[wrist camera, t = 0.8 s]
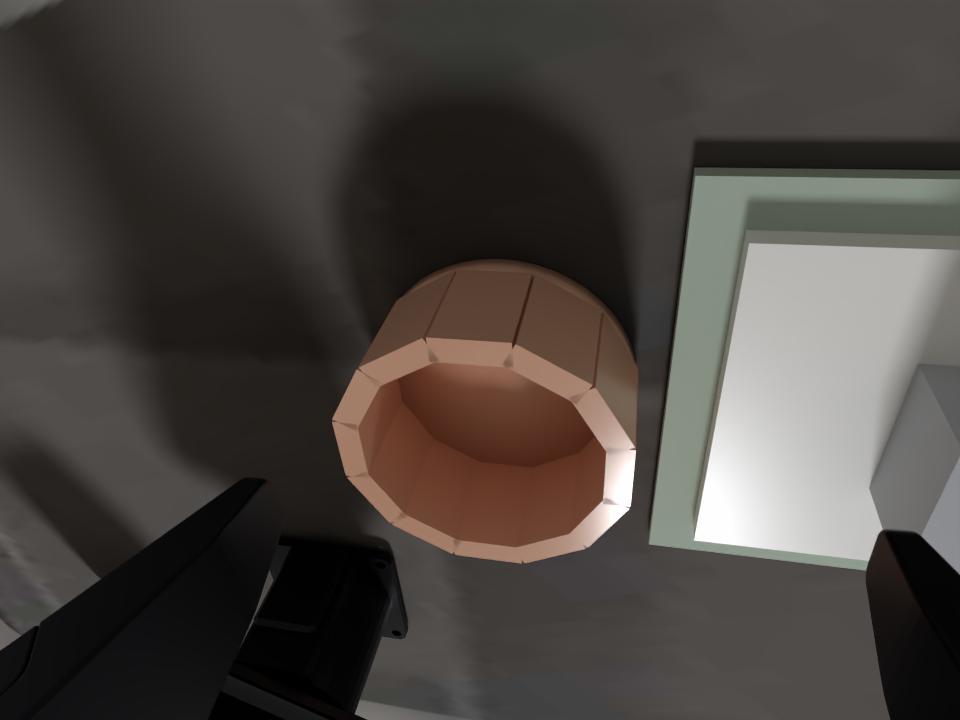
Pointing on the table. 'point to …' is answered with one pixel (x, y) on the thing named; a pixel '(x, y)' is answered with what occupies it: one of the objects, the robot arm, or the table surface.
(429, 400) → the bowl
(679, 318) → the mat
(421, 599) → the table surface
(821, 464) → the lid
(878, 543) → the robot arm
